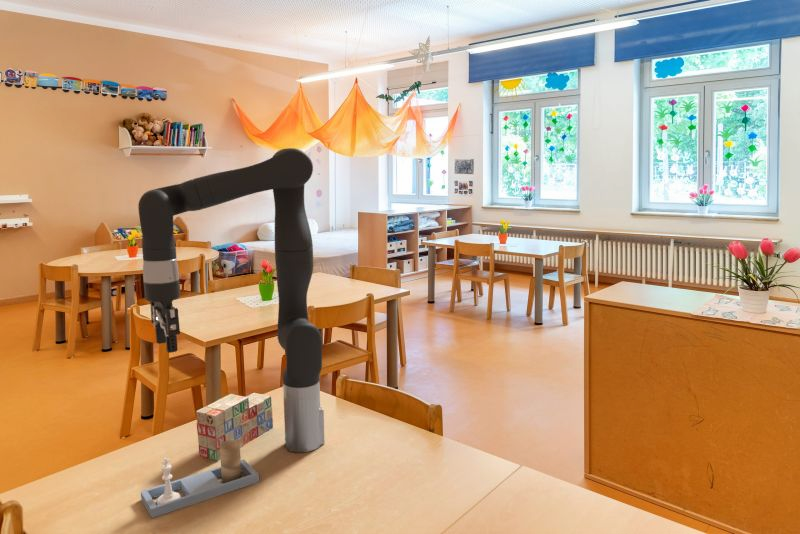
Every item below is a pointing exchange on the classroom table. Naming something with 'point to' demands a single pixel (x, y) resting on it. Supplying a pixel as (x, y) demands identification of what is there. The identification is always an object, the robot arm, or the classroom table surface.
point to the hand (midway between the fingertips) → (166, 347)
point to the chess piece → (167, 485)
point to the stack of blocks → (232, 422)
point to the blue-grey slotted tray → (197, 489)
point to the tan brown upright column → (230, 460)
